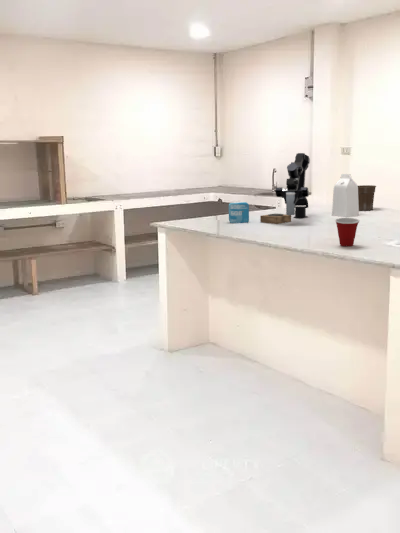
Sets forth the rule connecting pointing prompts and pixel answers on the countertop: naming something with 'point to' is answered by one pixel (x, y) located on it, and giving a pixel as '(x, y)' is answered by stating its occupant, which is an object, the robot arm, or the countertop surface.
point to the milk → (345, 197)
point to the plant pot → (366, 197)
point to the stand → (275, 218)
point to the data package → (239, 212)
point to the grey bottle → (290, 203)
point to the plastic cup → (346, 230)
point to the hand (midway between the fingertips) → (290, 203)
